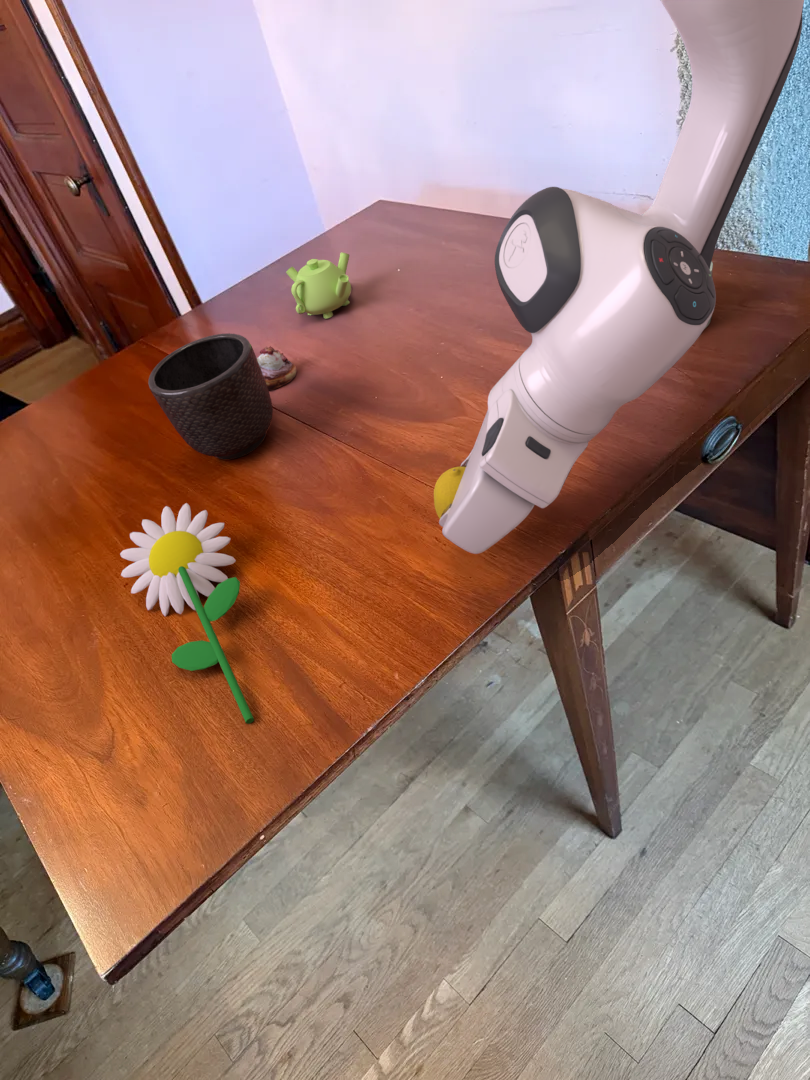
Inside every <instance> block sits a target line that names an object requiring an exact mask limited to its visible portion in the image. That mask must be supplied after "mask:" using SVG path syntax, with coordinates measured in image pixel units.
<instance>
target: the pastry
mask: <svg viewBox="0 0 810 1080" xmlns="http://www.w3.org/2000/svg"><path fill="white" fill-rule="evenodd" d="M259 353H260V355H258V356H257V357H256V358H257V360H258V363H259V365H260V368H261V370H262V373H263V376H264V378H265V381H266V384H267V387H268V390H269V391H273V390H276V389H278V388H281V387H282V386H285V385H286V384H288V383H290V382H291V381H292V380H293V379H294V378H295V377H296V376H297V366H296V365H295V364H294V363H293V362H291V360H289V359H288V357H286V355H285V354H284V353H283V352H282V353H281V352H280V351H279V350H278V349H275V347H273V346H271V345H270V346H265V347H263V348H262V349H261V350H260V351H259Z"/></svg>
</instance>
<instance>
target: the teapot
mask: <svg viewBox="0 0 810 1080" xmlns="http://www.w3.org/2000/svg"><path fill="white" fill-rule="evenodd" d="M349 260H350V254H349V253H346V252H340V253H339V258H338V263H337V265H336V264H334V263H333V262H332V261H330V260H327V259H317V258H311V259H309V260H307V262H306V264H305V265H303V266H302V267H301V268H300V269H299V270H298V271H297V270H296V268H295V267H294V266H290V267H289V268H288V269H287V270H286V271H285V274H286V275H287V276H288V277H289V278H290V280H292V281H293V284H292V285H291V288H290V291H291V294H292V297H293V298H294V300H295V303H296V305H295V311H296V313H297V314H299V315H301V314H305V313H307V316H314V315H322V317H323V319H327V320H328V319H330V318H332V317H333V316H334V313H333V311H335V310H337V309H339V308H341V307H345V306H348V305H349V304H350V301H349V298H350V295H351V293H352V285H351V282H350V279H349V275H348V274H346V273H347V271H348V270H347V269H348V264H349Z"/></svg>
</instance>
